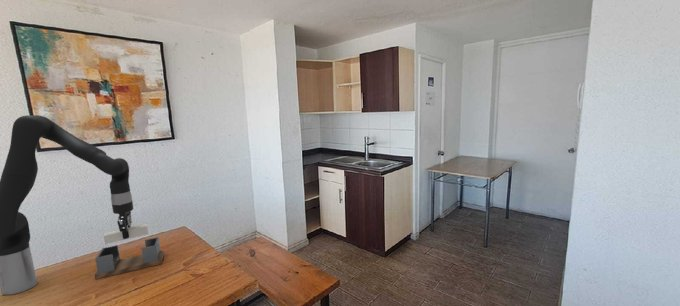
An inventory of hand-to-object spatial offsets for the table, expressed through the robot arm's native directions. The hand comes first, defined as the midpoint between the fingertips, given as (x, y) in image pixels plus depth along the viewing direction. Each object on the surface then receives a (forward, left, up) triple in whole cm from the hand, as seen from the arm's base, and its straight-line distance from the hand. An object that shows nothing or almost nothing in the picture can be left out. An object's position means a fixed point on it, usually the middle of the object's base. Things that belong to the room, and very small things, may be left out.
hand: (127, 236), depth 129 cm
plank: (0, 0, -15) cm, 15 cm away
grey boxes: (0, 0, -13) cm, 13 cm away
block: (0, 0, -1) cm, 1 cm away
